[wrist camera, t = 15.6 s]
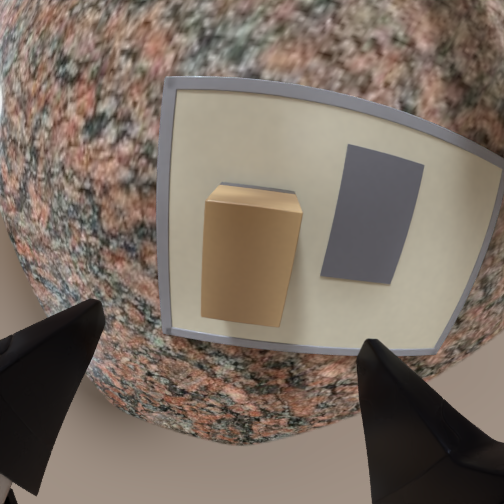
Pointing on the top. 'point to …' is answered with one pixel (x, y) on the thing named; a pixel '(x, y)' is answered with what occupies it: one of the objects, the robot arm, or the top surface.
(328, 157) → the memo board
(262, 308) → the eraser
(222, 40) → the top surface
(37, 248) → the top surface
